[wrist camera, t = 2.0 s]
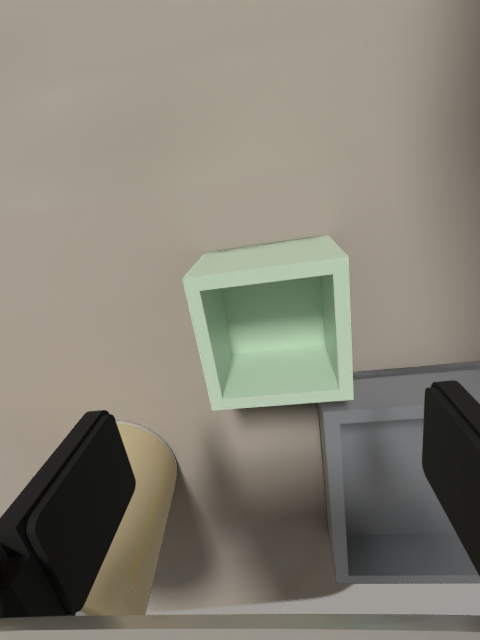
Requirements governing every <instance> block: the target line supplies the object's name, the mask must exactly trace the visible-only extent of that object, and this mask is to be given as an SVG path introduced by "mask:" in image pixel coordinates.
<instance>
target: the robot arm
mask: <svg viewBox="0 0 480 640" xmlns="http://www.w3.org/2000/svg"><path fill="white" fill-rule="evenodd" d="M422 467H423V471H424V474H425V476H426V478H427V480H428V482H429V484H430V486H431V487H432V489H433V491H434V493H435V495H436V497H437V499H438V500H439V502H440V504H441V506H442V508H443V510H444V511H445V513H446V515H447V517H448V519H449V521H450V523H451V524H452V526H453V528H454V530H455V532H456V534H457V536H458V537H459V539H460V541H461V543H462V545H463V547H464V548H465V550H466V552H467V554H468V556H469V558H470V560H471V561H472V563H473V565H474V567H475V569H476V571H477V573H478V574H479V576H480V404H479V403H478V402H477V401H476V400H475V398H474V397H473V396H472V395H471V394H470V393H469V392H468V391H467V390H466V389H465V388H464V387H463V386H462V385H461V384H460V383H459V382H458V381H456V380H450V381H439V382H433V383H432V385H431V387H430V388H426V389H425V399H424V423H423V446H422ZM135 487H136V480H135V476H134V473H133V470H132V467H131V464H130V462H129V459H128V456H127V453H126V450H125V447H124V444H123V441H122V438H121V435H120V432H119V429H118V426H117V423H116V420H115V418H114V416H113V415H111V414H109V413H108V412H107V411H106V410H102V411H90V412H87V413H85V414H84V416H83V417H82V418H81V419H80V420H79V422H78V423H77V424H76V425H75V427H74V428H73V429H72V430H71V432H70V433H69V434H68V435H67V437H66V438H65V439H64V440H63V441H62V443H61V444H60V445H59V446H58V448H57V449H56V450H55V451H54V453H53V454H52V455H51V456H50V458H49V459H48V460H47V461H46V462H45V464H44V465H43V466H42V467H41V469H40V470H39V471H38V472H37V474H36V475H35V476H34V477H33V478H32V480H31V481H30V482H29V483H28V485H27V486H26V487H25V488H24V490H23V491H22V492H21V493H20V495H19V496H18V497H17V498H16V499H15V501H14V502H13V503H12V504H11V506H10V507H9V508H8V509H7V511H6V512H5V513H4V514H3V516H2V517H1V518H0V640H480V616H471V615H394V614H393V615H391V614H390V615H389V614H387V615H386V614H385V615H381V614H379V615H378V614H376V615H375V614H373V615H372V614H371V615H369V614H356V615H355V614H343V615H342V614H257V615H256V614H254V615H253V614H250V615H249V614H247V615H246V614H245V615H243V614H232V615H101V616H75V614H76V612H79V611H80V610H81V609H82V608H83V606H84V604H85V602H86V600H87V598H88V596H89V593H90V591H91V589H92V587H93V584H94V582H95V580H96V577H97V575H98V573H99V571H100V568H101V566H102V564H103V562H104V559H105V557H106V555H107V553H108V550H109V548H110V546H111V543H112V541H113V539H114V537H115V534H116V532H117V530H118V528H119V525H120V523H121V521H122V519H123V516H124V514H125V512H126V510H127V507H128V505H129V503H130V500H131V498H132V496H133V494H134V491H135Z"/></svg>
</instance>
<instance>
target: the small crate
mask: <svg viewBox="0 0 480 640" xmlns="http://www.w3.org/2000/svg"><path fill="white" fill-rule="evenodd" d="M182 280H183V284H184V289H185V293H186V298H187V302H188V306H189V311H190V315H191V320H192V324H193V328H194V333H195V337H196V342H197V346H198V350H199V355H200V359H201V364H202V368H203V372H204V377H205V381H206V385H207V390H208V394H209V399H210V403H211V407H212V410H225V409H239V408H252V407H265V406H279V405H292V404H305V403H318V402H332V401H345V400H354V393H353V366H352V339H351V311H350V284H349V257H348V256H347V255H346V254H345V252H344V251H343V250H342V249H341V248H340V247H339V246H338V245H337V244H336V243H335V242H334V241H333V240H332V239H331V237H330V236H329V235H326V236H319V237H312V238H305V239H298V240H291V241H284V242H277V243H269V244H262V245H255V246H248V247H241V248H234V249H227V250H220V251H213V252H206V253H204V254H203V255H202V256H201V258H200V259H199V260H198V261H197V262H196V263H195V264H194V266H193V267H192V268H191V269H190V270H189V271H188V273H187V274H186V275H185V276H184V277H183V278H182Z"/></svg>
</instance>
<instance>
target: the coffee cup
mask: <svg viewBox="0 0 480 640" xmlns="http://www.w3.org/2000/svg"><path fill="white" fill-rule="evenodd" d="M116 423H117V426H118V429H119V432H120V435H121V438H122V441H123V444H124V447H125V450H126V453H127V456H128V459H129V462H130V464H131V467H132V470H133V473H134V476H135V480H136V487H135V491H134V494H133V496H132V498H131V500H130V503H129V505H128V507H127V510H126V512H125V514H124V516H123V519H122V521H121V523H120V525H119V528H118V530H117V532H116V534H115V537H114V539H113V541H112V543H111V546H110V548H109V550H108V553H107V555H106V557H105V559H104V562H103V564H102V566H101V568H100V571H99V573H98V575H97V577H96V580H95V582H94V584H93V587H92V589H91V591H90V593H89V596H88V598H87V600H86V602H85V604H84V606H83V608H82V609H81V610H80V611H79V612H76V614H75V616H101V615H145V614H146V610H147V606H148V601H149V597H150V593H151V589H152V584H153V580H154V576H155V571H156V567H157V563H158V558H159V554H160V549H161V545H162V541H163V536H164V532H165V528H166V523H167V519H168V515H169V510H170V506H171V501H172V497H173V493H174V487H175V482H176V477H177V463H176V459H175V456H174V454H173V452H172V450H171V449H170V447H169V446H168V445H167V443H166V442H165V441H164V440H163V439H162V438H160V437H159V436H158V435H157V434H155V433H154V432H152V431H151V430H149V429H147V428H145V427H143V426H140V425H137V424H134V423H130V422H125V421H116Z"/></svg>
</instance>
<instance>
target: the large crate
mask: <svg viewBox="0 0 480 640" xmlns="http://www.w3.org/2000/svg"><path fill="white" fill-rule="evenodd" d="M450 380H456V381H458V382H459V383H460V384H461V385H462V386H463V387H464V388H465V389H466V390H467V391H468V392H469V393H470V394H471V395H472V396H473V397H474V398H475V400H476V401H477V402H478V403H479V404H480V361H478V362H466V363H454V364H443V365H431V366H420V367H408V368H396V369H385V370H373V371H361V372H353V393H354V400H345V401H332V402H318V414H319V426H320V438H321V449H322V461H323V473H324V485H325V496H326V508H327V520H328V532H329V539H330V545H331V551H332V558H333V564H334V570H335V577H336V583H337V584H363V583H364V584H367V583H368V584H372V583H373V584H374V583H376V584H379V583H380V584H387V583H388V584H389V583H390V584H391V583H393V584H396V583H480V576H479V574H478V573H477V571H476V569H475V567H474V565H473V563H472V561H471V560H470V558H469V556H468V554H467V552H466V550H465V548H464V547H463V545H462V543H461V541H460V539H459V537H458V536H457V534H456V532H455V530H454V528H453V526H452V524H451V523H450V521H449V519H448V517H447V515H446V513H445V511H444V510H443V508H442V506H441V504H440V502H439V500H438V499H437V497H436V495H435V493H434V491H433V489H432V487H431V486H430V484H429V482H428V480H427V478H426V476H425V474H424V471H423V467H422V446H423V423H424V399H425V389H426V388H430V387H431V385H432V383H433V382H439V381H450Z"/></svg>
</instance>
